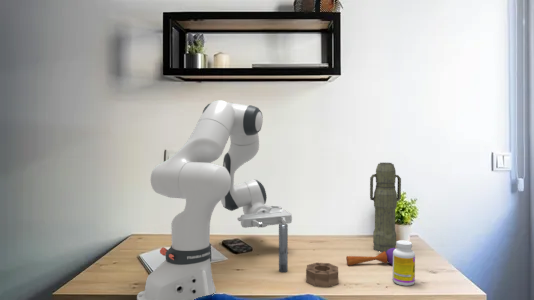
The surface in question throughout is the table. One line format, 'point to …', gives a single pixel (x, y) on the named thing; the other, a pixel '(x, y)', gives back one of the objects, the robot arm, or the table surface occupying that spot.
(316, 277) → the bead
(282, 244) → the grey metal peg
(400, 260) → the supplement bottle
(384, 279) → the table surface
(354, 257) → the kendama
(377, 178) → the thermos
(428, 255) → the table surface
